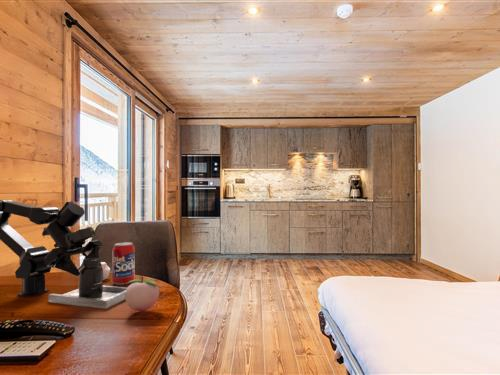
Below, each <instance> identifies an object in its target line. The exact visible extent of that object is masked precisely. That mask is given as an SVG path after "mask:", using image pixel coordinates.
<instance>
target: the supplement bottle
mask: <svg viewBox="0 0 500 375" xmlns="http://www.w3.org/2000/svg"><path fill="white" fill-rule="evenodd" d="M100 262H101V259H100V257H99V258H87V259H85V258H83V259H82V266H83V267H82V268H80V269H79V270H78V271H79V272H80V275H79V276H78V284H79V296H81V297H90V298H97V297H100V296H101V295H102V293H103V285H104V280H103V268H102V267H101V266H99V264H100Z"/></svg>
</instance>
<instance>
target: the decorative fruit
mask: <svg viewBox="0 0 500 375" xmlns="http://www.w3.org/2000/svg"><path fill="white" fill-rule="evenodd" d="M129 283H130V284H129ZM127 285H128V286H127V287H128V288H127V290H126V293H125V302H126V304H127V306H128V307H129V308H130V309H132V310H134V311H137V312H140V313H144V312H146V311H148V310H149V309H151V308H152V307H153V306H155V304H156V303H157V301H158V299H159V296H160V289H159V285H158V283H157V282H156V281H154V280H151V279H146V280H144V277H143V276H141V279H139V278H138V279H134V280H132V281H129V282H128V284H127Z"/></svg>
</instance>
